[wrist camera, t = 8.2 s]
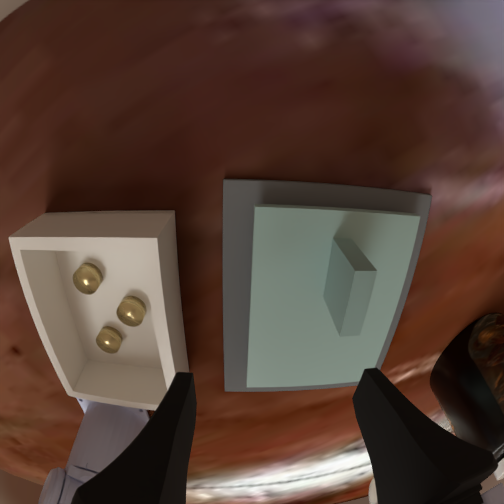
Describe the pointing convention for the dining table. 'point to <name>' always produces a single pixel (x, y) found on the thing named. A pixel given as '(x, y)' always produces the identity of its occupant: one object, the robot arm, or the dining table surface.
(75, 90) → the dining table surface
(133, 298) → the set of gold balls
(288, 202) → the mat
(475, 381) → the jar
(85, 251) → the tub
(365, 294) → the lid
